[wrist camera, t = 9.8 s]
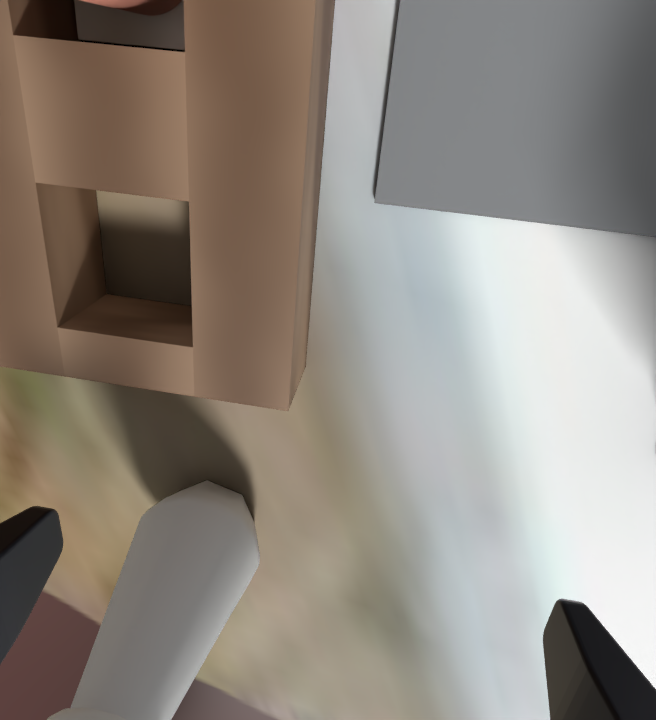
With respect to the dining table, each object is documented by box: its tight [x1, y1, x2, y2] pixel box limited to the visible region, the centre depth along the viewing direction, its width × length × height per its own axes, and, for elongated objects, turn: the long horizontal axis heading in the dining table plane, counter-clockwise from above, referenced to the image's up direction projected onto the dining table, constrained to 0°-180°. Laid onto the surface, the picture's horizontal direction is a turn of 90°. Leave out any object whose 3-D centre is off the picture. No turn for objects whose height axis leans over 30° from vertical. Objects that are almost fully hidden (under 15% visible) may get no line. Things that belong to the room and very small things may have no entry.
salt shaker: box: [47, 480, 260, 720], centre depth 22 cm, size 6×6×13 cm
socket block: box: [0, 0, 335, 411], centre depth 18 cm, size 12×18×4 cm, turn 175°
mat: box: [374, 0, 656, 237], centre depth 17 cm, size 10×10×1 cm
